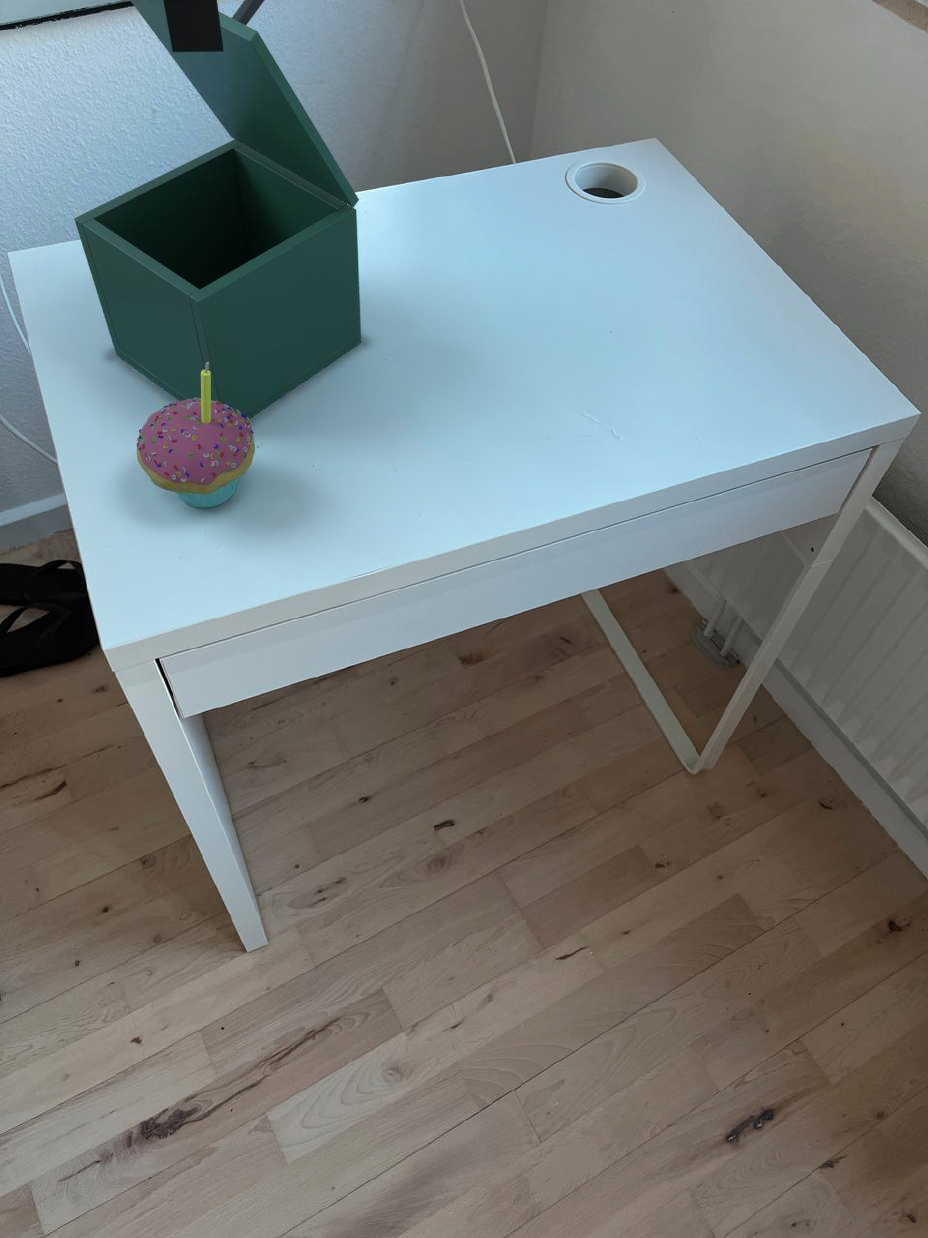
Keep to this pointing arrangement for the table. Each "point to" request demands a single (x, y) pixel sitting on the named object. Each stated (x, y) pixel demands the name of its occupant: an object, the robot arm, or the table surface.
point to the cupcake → (197, 448)
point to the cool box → (227, 277)
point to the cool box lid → (254, 98)
